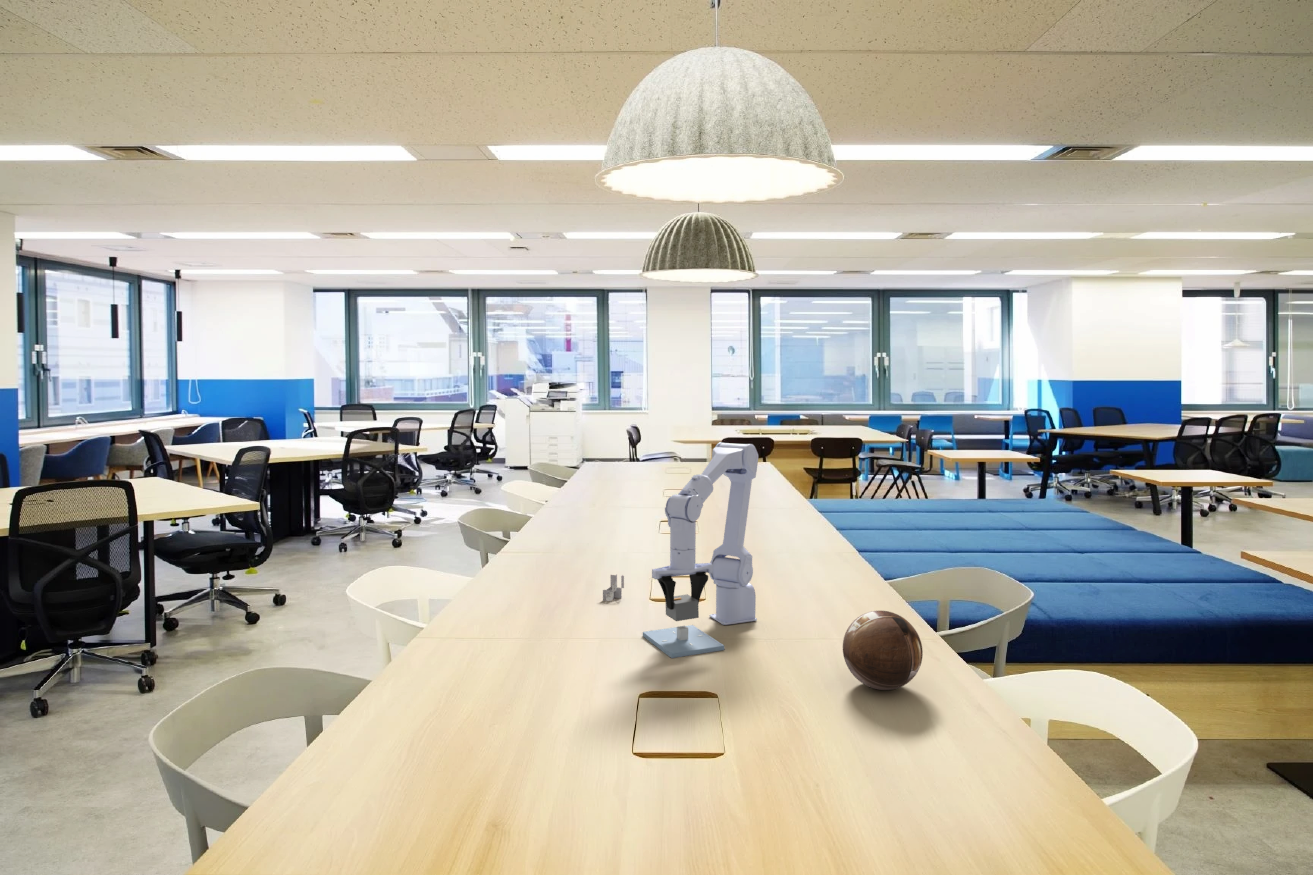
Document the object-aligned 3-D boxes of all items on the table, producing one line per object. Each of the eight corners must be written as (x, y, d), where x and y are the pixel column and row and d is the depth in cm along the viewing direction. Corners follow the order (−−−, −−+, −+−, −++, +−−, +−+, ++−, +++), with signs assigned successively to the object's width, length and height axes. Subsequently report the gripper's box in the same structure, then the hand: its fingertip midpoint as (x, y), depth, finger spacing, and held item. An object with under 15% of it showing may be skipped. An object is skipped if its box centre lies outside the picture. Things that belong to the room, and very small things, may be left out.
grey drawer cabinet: (687, 611, 187) (687, 593, 186) (698, 617, 182) (698, 599, 181) (665, 614, 184) (665, 596, 184) (676, 621, 179) (675, 602, 179)
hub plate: (692, 629, 193) (692, 614, 193) (724, 649, 178) (724, 634, 178) (642, 636, 188) (642, 620, 187) (671, 658, 173) (671, 641, 173)
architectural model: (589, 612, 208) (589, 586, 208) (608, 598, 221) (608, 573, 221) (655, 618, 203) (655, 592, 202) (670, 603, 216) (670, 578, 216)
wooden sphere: (826, 679, 161) (828, 606, 160) (886, 668, 167) (888, 598, 166) (874, 708, 147) (876, 628, 146) (938, 695, 153) (940, 618, 152)
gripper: (703, 541, 188) (702, 598, 189) (646, 547, 182) (646, 605, 183) (717, 547, 182) (717, 606, 183) (659, 553, 176) (659, 614, 177)
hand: (682, 606), depth 182 cm, fingers closed on grey drawer cabinet, 6 cm apart
